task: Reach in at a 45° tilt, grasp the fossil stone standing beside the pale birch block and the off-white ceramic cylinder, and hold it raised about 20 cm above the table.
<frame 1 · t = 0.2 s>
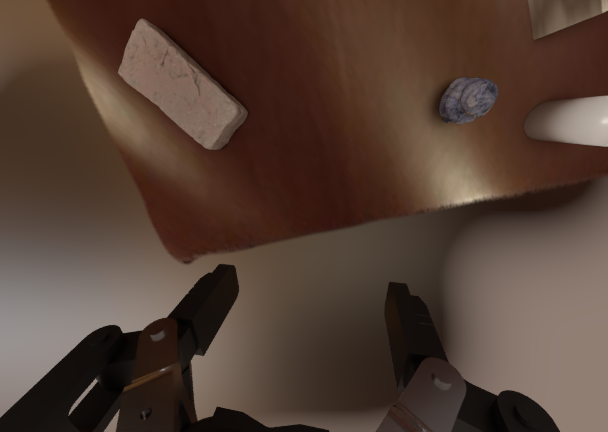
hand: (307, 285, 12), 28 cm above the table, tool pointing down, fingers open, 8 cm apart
ceramic cylinder: (544, 120, 32), on the table
birch block: (554, 5, 27), on the table
brick: (196, 94, 36), on the table
fossil stone: (445, 102, 32), on the table
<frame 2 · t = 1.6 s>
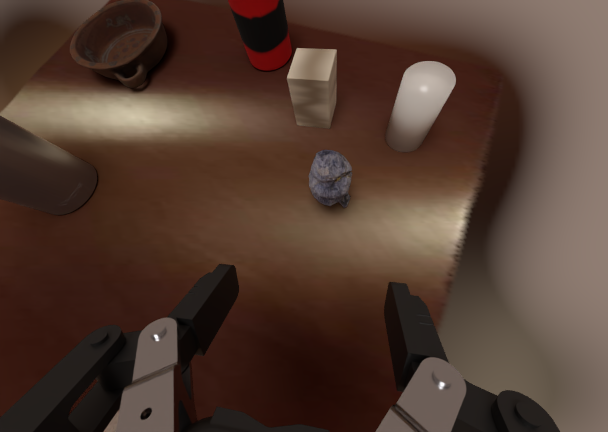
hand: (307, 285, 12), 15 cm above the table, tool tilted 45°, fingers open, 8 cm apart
ceramic cylinder: (403, 136, 32), on the table
dish: (137, 57, 46), on the table
soda can: (271, 57, 41), on the table
birch block: (316, 113, 35), on the table
fossil stone: (329, 198, 30), on the table
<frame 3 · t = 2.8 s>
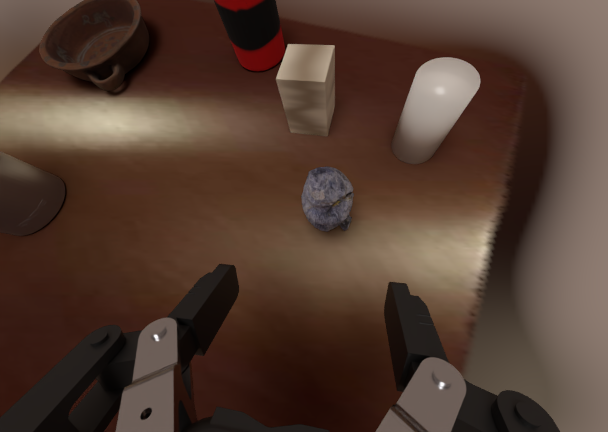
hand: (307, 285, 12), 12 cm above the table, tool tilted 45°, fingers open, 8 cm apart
ceramic cylinder: (412, 145, 28), on the table
dish: (116, 57, 42), on the table
soda can: (262, 56, 36), on the table
birch block: (312, 119, 31), on the table
fossil stone: (327, 218, 26), on the table
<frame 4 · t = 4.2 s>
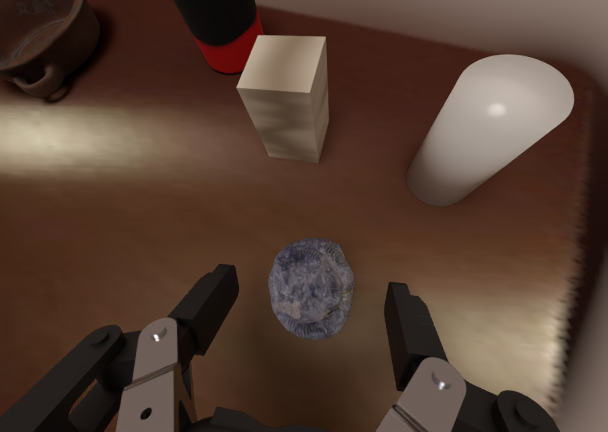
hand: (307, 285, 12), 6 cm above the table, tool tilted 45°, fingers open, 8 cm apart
ceramic cylinder: (436, 179, 20), on the table
dish: (62, 55, 34), on the table
soda can: (237, 54, 29), on the table
birch block: (299, 138, 23), on the table
fossil stone: (317, 285, 18), on the table
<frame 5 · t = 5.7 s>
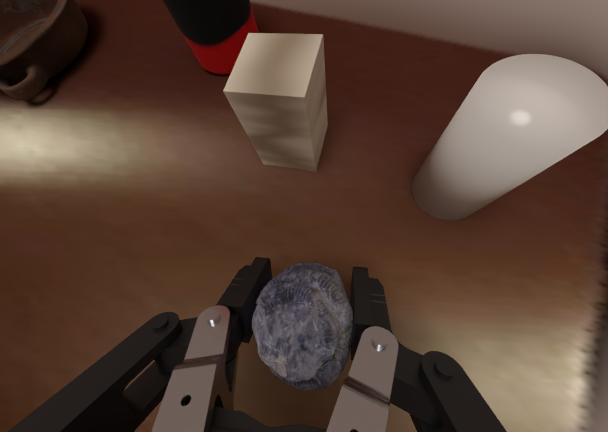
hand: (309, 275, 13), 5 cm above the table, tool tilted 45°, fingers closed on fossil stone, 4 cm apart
ceramic cylinder: (445, 190, 18), on the table
dish: (48, 56, 32), on the table
soda can: (231, 54, 27), on the table
birch block: (295, 144, 21), on the table
fossil stone: (313, 308, 17), on the table, touching gripper
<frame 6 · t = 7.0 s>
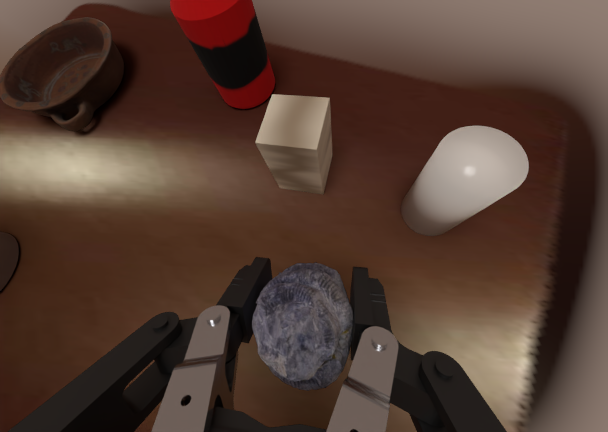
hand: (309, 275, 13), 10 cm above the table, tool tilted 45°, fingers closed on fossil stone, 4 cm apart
ceramic cylinder: (427, 211, 22), on the table
dish: (89, 88, 37), on the table
soda can: (249, 90, 32), on the table
birch block: (306, 171, 26), on the table
fossil stone: (313, 308, 17), point 5 cm above the table, touching gripper
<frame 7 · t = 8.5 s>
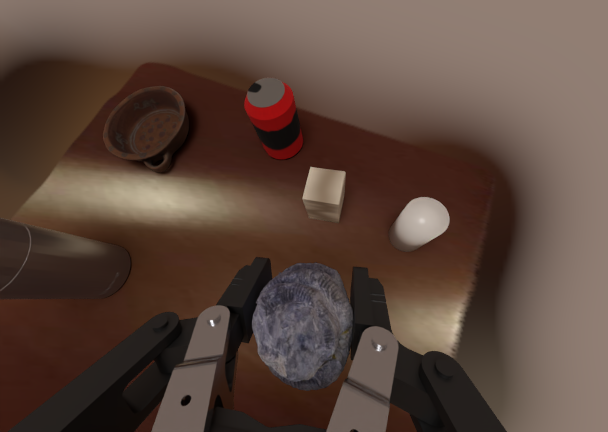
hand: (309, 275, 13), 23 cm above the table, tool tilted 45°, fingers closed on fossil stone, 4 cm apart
ceramic cylinder: (405, 235, 36), on the table
dish: (161, 136, 50), on the table
soda can: (284, 144, 45), on the table
birch block: (326, 206, 39), on the table
fossil stone: (313, 308, 17), point 19 cm above the table, touching gripper
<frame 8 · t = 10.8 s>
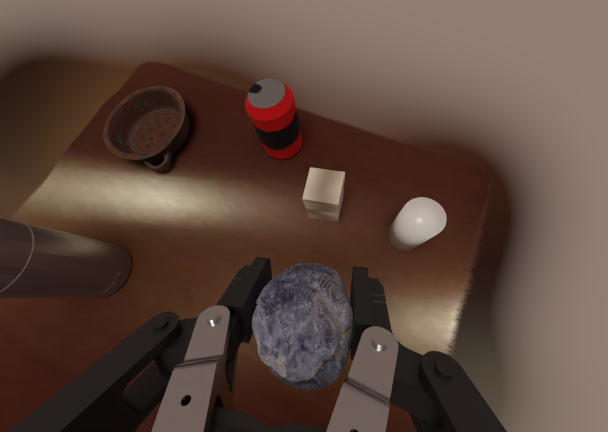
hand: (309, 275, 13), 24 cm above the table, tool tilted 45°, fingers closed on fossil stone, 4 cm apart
ceramic cylinder: (403, 235, 36), on the table
dish: (161, 136, 50), on the table
soda can: (284, 144, 45), on the table
birch block: (326, 206, 39), on the table
fossil stone: (313, 308, 17), point 19 cm above the table, touching gripper
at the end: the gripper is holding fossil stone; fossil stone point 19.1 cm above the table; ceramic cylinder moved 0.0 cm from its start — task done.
